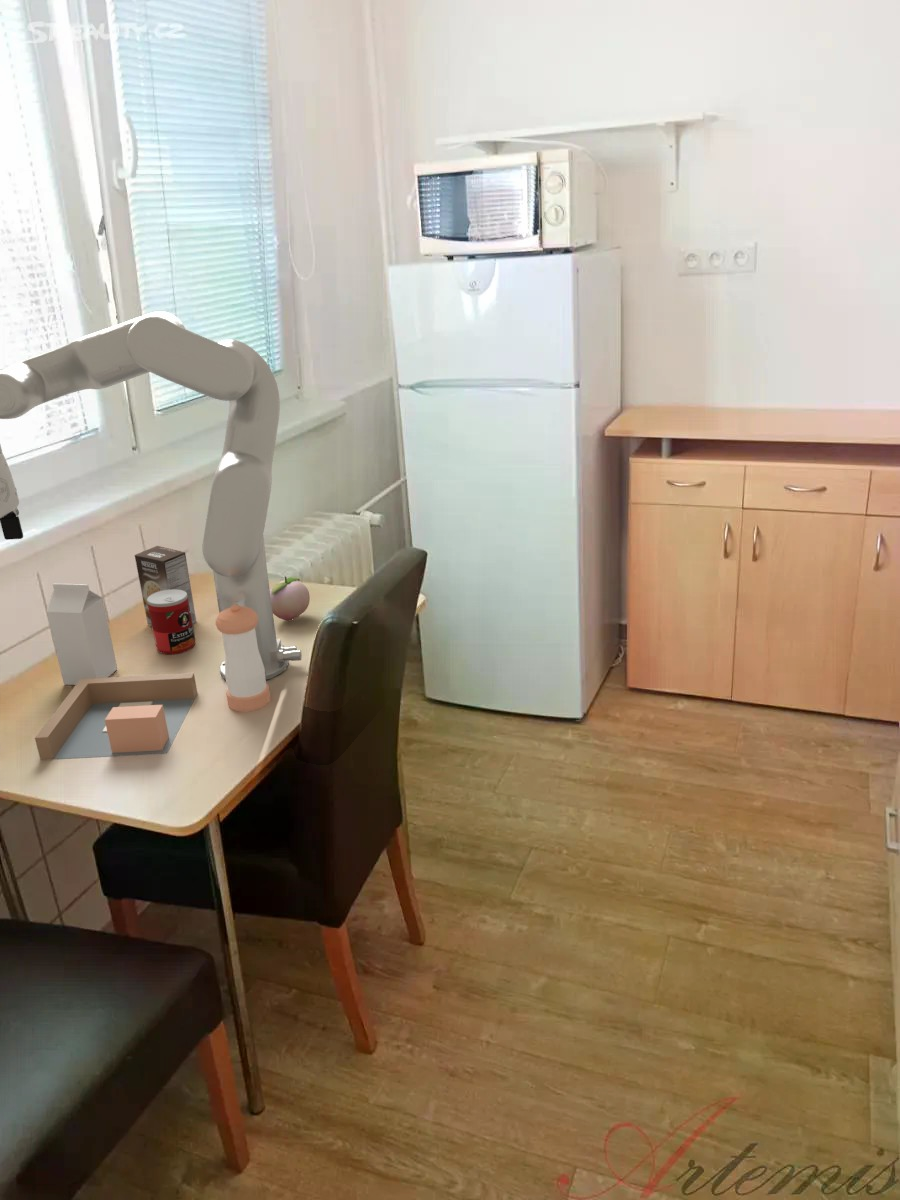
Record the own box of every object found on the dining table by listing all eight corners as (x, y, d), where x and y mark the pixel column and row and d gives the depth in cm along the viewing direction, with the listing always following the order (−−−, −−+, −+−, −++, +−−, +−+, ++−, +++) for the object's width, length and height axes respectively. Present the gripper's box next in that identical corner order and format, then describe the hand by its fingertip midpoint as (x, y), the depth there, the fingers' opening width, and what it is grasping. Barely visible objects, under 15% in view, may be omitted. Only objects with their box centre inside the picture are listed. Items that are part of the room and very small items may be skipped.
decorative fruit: (300, 631, 189) (294, 586, 185) (264, 628, 191) (258, 583, 187) (319, 613, 197) (314, 570, 193) (285, 610, 199) (279, 567, 196)
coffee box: (146, 625, 196) (132, 554, 190) (169, 614, 201) (156, 545, 195) (175, 633, 191) (162, 560, 185) (198, 622, 196) (186, 551, 190)
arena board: (198, 698, 164) (193, 672, 162) (168, 759, 145) (162, 731, 143) (86, 704, 164) (80, 678, 162) (42, 766, 145) (34, 737, 143)
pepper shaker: (234, 697, 163) (218, 598, 156) (275, 696, 163) (261, 596, 156) (224, 718, 157) (207, 615, 149) (266, 716, 156) (251, 613, 149)
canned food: (175, 658, 180) (166, 606, 176) (147, 650, 184) (137, 599, 180) (204, 643, 186) (195, 592, 182) (176, 635, 190) (167, 586, 186)
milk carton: (98, 687, 170) (76, 592, 163) (63, 685, 171) (41, 591, 164) (118, 669, 176) (98, 577, 169) (84, 668, 178) (64, 576, 171)
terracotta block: (169, 737, 149) (162, 704, 147) (162, 750, 146) (155, 717, 143) (120, 739, 149) (112, 707, 147) (112, 752, 146) (104, 719, 143)
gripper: (-28, 461, 144) (-1, 564, 150) (21, 437, 160) (44, 531, 166) (-75, 464, 144) (-46, 566, 150) (-21, 439, 160) (3, 533, 166)
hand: (1, 547), depth 158 cm, fingers open, 9 cm apart
